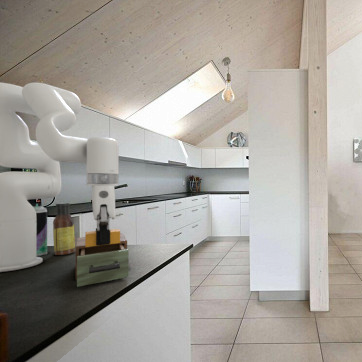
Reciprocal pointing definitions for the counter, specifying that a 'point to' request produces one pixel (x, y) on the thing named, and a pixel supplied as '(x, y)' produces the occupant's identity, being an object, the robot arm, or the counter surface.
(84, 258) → the drawer
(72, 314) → the counter surface
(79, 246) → the cabinet
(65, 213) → the sauce bottle
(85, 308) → the counter surface
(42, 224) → the spray can
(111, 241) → the orange block
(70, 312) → the counter surface
